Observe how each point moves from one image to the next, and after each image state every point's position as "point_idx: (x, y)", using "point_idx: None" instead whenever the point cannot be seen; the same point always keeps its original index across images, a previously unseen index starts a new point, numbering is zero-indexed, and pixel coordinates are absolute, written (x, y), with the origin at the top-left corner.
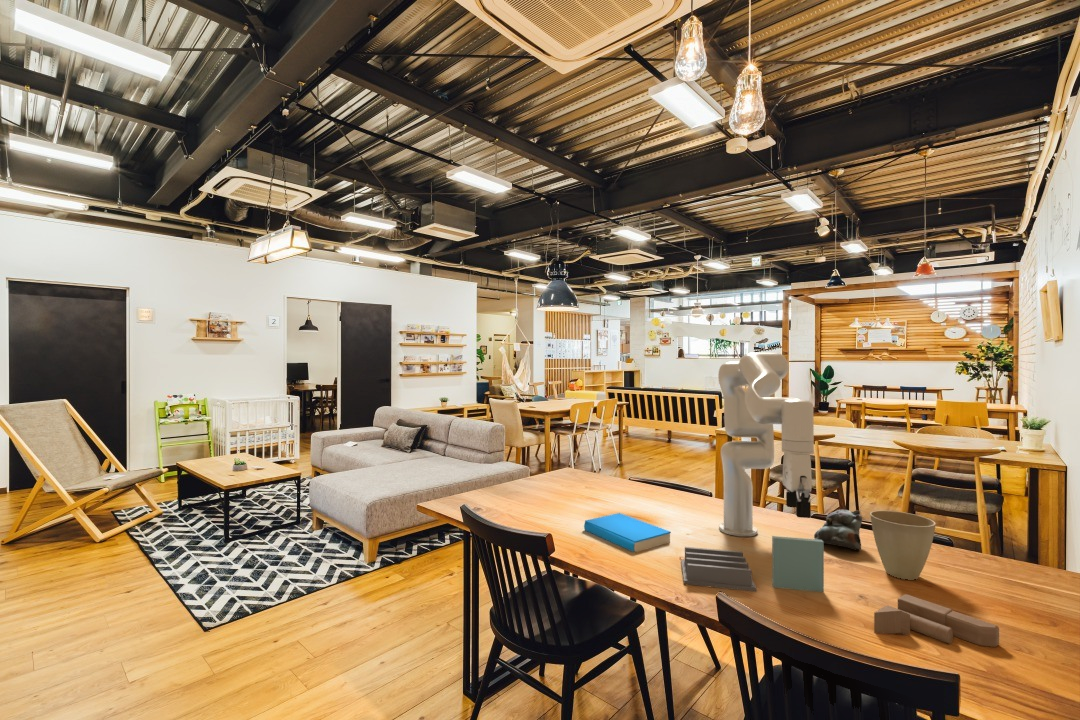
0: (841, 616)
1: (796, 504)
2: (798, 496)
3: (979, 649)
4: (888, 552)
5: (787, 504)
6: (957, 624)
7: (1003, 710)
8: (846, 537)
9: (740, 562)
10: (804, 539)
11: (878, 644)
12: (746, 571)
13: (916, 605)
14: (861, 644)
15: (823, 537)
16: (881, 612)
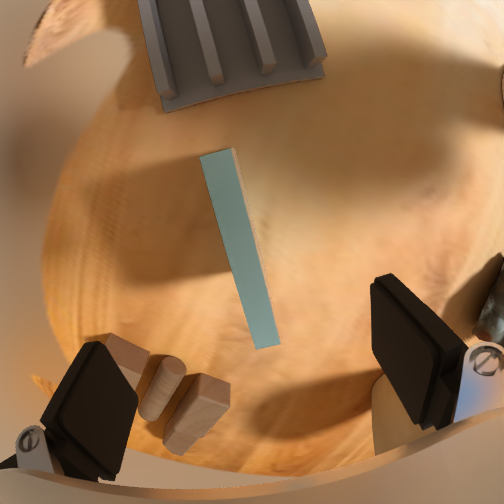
0: (137, 293)
1: (57, 400)
2: (18, 460)
3: (156, 422)
4: (391, 405)
5: (378, 288)
6: (169, 429)
7: (45, 393)
8: (484, 328)
9: (213, 53)
10: (252, 289)
11: (78, 330)
12: (155, 80)
13: (186, 410)
14: (62, 308)
15: (501, 281)
16: None
